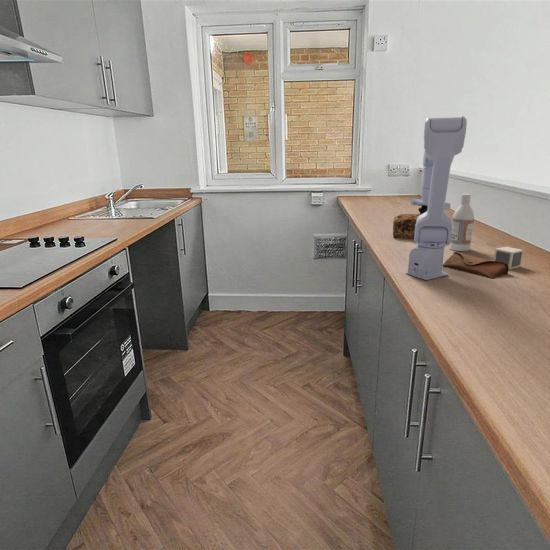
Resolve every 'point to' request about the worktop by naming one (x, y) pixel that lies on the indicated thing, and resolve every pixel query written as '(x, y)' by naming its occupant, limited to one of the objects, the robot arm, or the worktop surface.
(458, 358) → the worktop surface
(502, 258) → the cube
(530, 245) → the worktop surface
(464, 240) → the bath foam
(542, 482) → the worktop surface
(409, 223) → the bread
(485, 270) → the sunglasses case
